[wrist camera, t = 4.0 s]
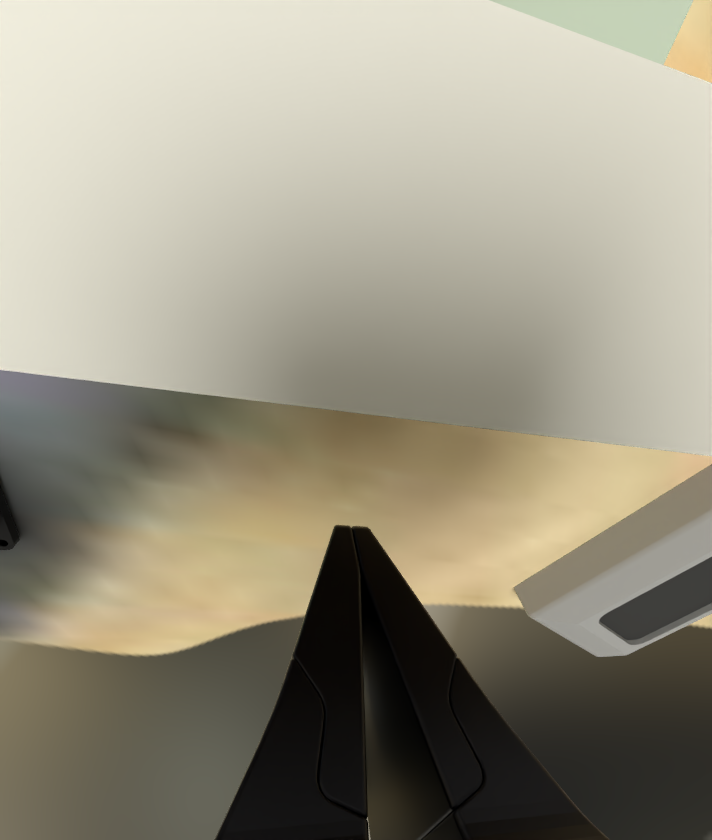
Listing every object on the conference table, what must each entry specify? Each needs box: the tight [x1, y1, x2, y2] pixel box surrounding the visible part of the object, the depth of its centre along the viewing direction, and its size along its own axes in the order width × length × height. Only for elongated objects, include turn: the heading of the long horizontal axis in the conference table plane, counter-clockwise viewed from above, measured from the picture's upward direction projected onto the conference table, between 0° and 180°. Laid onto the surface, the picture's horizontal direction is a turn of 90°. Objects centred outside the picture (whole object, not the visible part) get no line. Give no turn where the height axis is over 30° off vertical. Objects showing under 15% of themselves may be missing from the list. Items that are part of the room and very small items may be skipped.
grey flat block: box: [513, 464, 712, 657], centre depth 24 cm, size 10×4×15 cm
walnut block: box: [0, 0, 712, 456], centre depth 8 cm, size 4×12×10 cm, turn 79°
